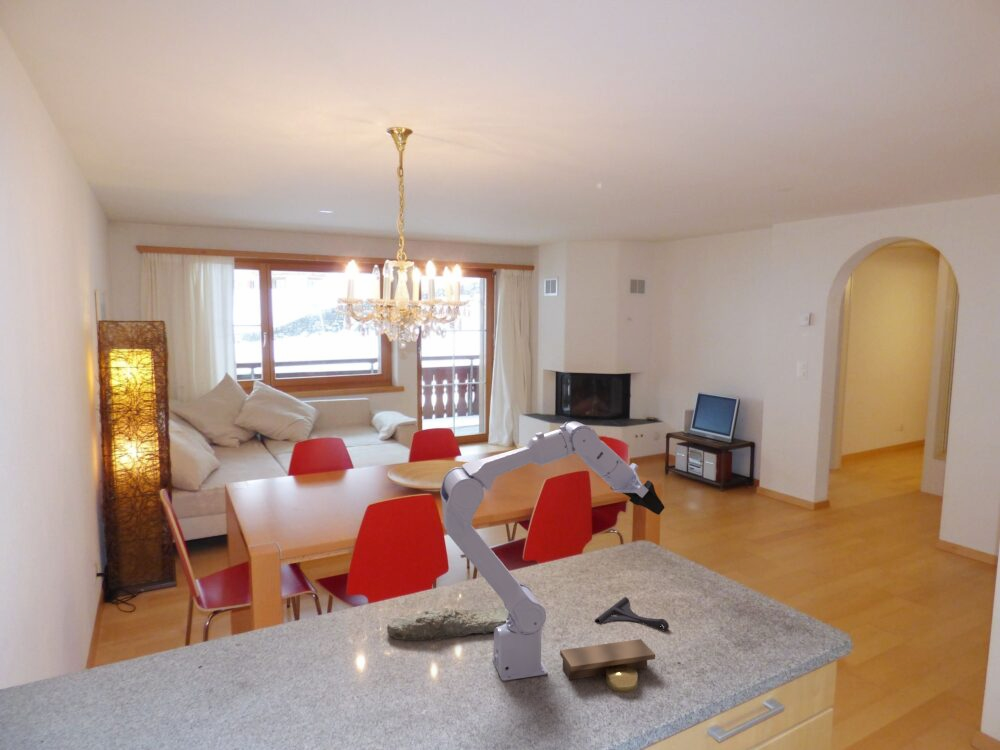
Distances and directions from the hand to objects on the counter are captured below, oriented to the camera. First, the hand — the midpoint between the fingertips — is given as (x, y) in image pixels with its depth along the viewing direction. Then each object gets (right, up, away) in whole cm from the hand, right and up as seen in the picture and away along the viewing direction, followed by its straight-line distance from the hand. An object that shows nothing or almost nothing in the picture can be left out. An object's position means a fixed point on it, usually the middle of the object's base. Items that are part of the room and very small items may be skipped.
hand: (651, 504), depth 129 cm
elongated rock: (-40, -31, +11) cm, 52 cm away
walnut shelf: (-10, -32, -5) cm, 34 cm away
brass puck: (-8, -33, -9) cm, 35 cm away
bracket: (0, -31, +16) cm, 35 cm away
